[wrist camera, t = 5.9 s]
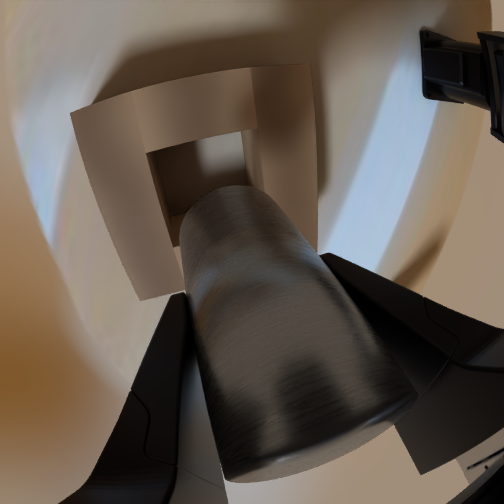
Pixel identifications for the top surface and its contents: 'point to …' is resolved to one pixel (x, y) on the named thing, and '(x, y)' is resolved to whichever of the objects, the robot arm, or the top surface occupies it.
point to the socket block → (190, 129)
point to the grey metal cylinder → (280, 342)
